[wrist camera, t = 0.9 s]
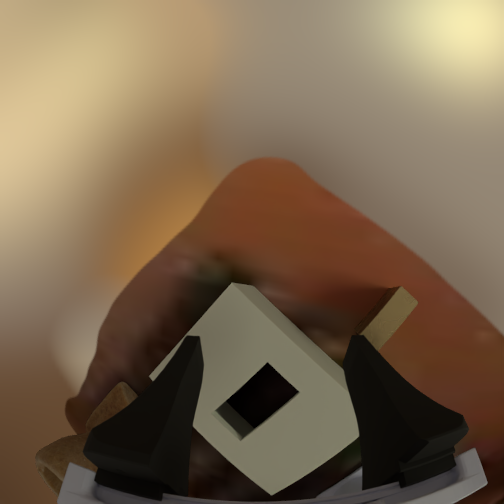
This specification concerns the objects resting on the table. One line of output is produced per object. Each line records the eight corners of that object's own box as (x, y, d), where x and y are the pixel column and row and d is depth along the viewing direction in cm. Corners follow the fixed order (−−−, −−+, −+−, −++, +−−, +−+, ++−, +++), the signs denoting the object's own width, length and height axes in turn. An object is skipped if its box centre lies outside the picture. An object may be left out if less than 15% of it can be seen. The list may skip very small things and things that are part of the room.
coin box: (371, 394, 23) (379, 419, 17) (284, 464, 24) (271, 495, 18) (253, 285, 28) (231, 282, 22) (181, 364, 29) (148, 376, 23)
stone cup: (134, 483, 28) (67, 524, 14) (87, 423, 32) (12, 446, 18) (192, 451, 27) (112, 513, 12) (131, 376, 30) (33, 400, 16)
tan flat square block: (403, 301, 23) (418, 302, 19) (369, 342, 24) (376, 352, 19) (389, 288, 24) (401, 285, 19) (354, 329, 24) (358, 336, 20)
